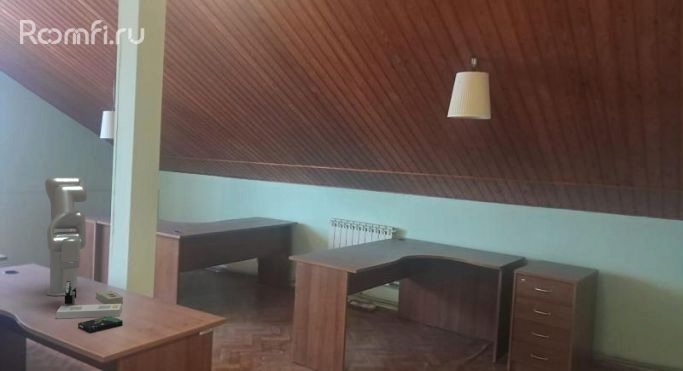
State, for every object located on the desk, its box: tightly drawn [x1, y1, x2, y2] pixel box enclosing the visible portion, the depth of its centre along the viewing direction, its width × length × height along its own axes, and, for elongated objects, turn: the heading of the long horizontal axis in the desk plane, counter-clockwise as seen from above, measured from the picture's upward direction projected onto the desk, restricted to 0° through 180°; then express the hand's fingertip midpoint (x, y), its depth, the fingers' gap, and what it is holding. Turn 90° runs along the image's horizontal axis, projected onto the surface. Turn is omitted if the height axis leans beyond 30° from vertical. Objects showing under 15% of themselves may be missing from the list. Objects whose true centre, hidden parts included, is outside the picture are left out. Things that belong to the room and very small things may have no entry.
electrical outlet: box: [95, 290, 124, 305], centre depth 283 cm, size 7×4×18 cm
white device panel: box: [55, 303, 123, 320], centre depth 261 cm, size 10×26×3 cm, turn 105°
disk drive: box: [77, 316, 124, 334], centre depth 244 cm, size 10×3×15 cm
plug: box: [65, 291, 76, 306], centre depth 267 cm, size 4×4×8 cm
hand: (70, 301), depth 267 cm, fingers open, 9 cm apart
